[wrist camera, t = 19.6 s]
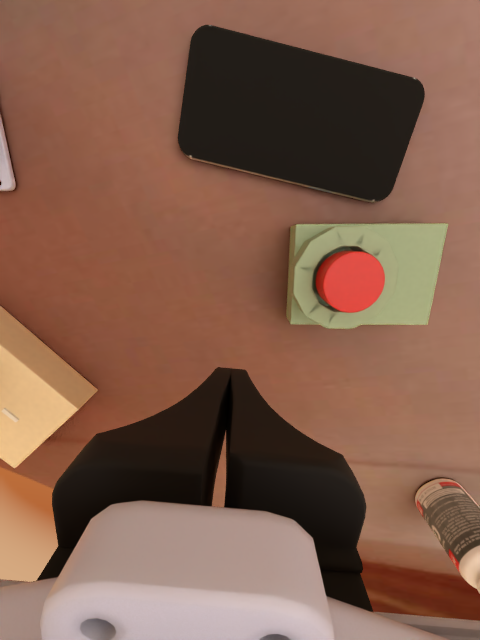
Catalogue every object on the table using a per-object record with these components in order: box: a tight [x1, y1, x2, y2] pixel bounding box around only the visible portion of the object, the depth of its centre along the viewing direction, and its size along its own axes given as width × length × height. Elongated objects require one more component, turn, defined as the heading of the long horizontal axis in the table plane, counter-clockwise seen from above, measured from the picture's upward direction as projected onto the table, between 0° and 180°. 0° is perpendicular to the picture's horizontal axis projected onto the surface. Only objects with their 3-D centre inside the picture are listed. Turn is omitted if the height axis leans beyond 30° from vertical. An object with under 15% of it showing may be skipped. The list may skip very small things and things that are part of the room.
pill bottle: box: [415, 479, 480, 593], centre depth 22 cm, size 5×5×8 cm
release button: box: [316, 251, 385, 313], centre depth 16 cm, size 4×4×2 cm
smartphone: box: [178, 25, 425, 202], centre depth 17 cm, size 7×1×15 cm
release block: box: [286, 223, 448, 329], centre depth 18 cm, size 10×7×4 cm
